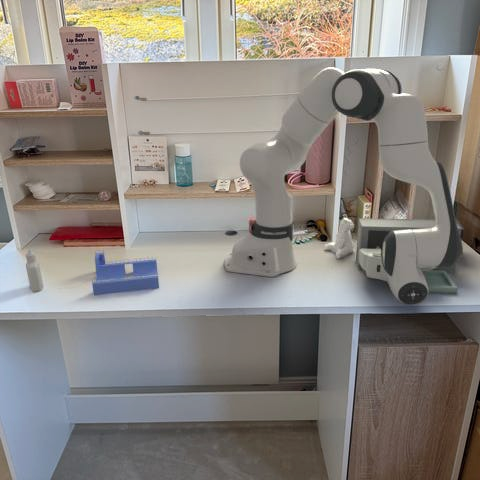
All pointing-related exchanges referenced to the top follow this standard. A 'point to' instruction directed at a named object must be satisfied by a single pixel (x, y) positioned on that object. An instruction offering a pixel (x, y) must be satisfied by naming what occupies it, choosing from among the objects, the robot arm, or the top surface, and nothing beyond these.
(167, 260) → the top surface
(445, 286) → the tray
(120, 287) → the blue plastic stand
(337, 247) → the seated beast figurine
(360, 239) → the printer housing
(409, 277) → the robot arm
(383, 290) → the top surface
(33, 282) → the eye dropper bottle
